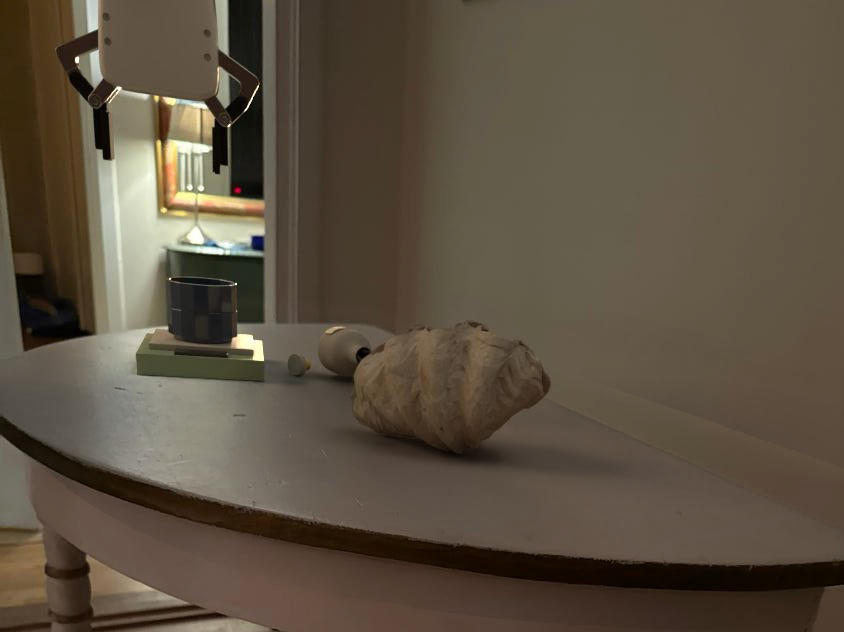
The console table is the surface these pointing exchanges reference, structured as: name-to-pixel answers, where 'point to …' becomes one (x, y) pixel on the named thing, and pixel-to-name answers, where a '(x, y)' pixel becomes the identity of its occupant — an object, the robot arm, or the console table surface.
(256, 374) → the scale
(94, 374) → the console table surface
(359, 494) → the console table surface
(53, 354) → the console table surface
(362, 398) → the seashell
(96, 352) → the console table surface
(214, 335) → the cup
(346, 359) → the jar with stopper
